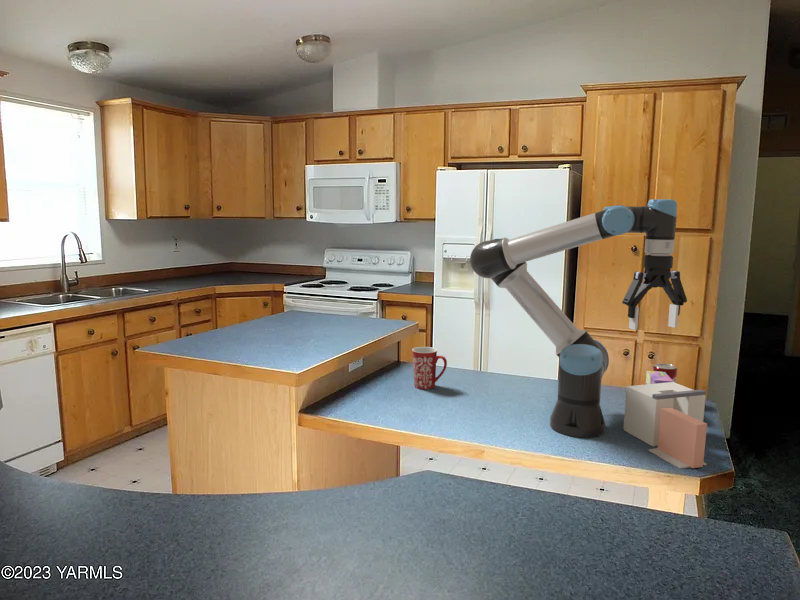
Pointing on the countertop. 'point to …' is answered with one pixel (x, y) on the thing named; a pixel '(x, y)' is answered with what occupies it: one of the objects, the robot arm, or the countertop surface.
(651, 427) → the dispenser
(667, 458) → the mat
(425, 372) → the mug
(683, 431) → the salmon pink slab
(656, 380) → the box
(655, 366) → the soda can
